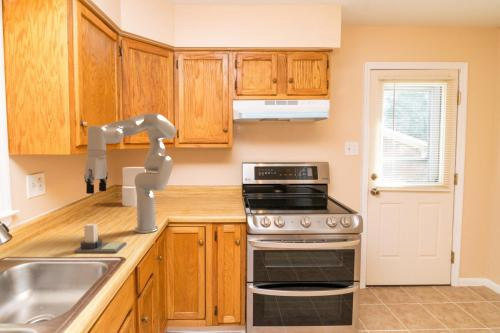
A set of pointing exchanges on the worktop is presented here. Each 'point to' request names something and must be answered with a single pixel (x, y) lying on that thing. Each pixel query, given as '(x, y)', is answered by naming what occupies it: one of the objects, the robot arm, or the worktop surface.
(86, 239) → the plug
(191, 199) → the worktop surface
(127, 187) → the white tall block
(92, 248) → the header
